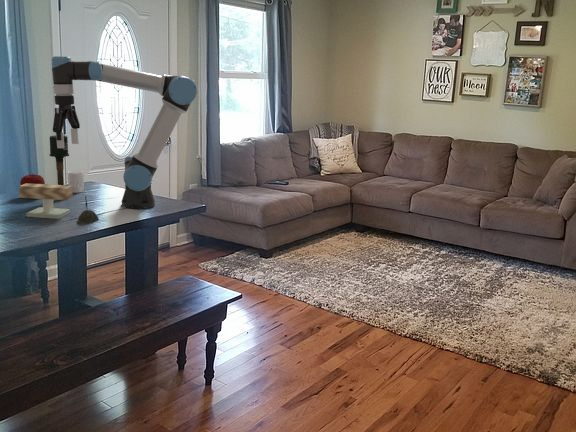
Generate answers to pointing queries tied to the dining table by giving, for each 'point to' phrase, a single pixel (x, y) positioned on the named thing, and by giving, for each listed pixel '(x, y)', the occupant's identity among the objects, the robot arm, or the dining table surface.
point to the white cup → (76, 181)
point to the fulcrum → (48, 211)
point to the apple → (32, 179)
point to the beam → (45, 191)
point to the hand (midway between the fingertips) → (68, 146)
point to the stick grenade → (59, 156)
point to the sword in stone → (87, 216)
